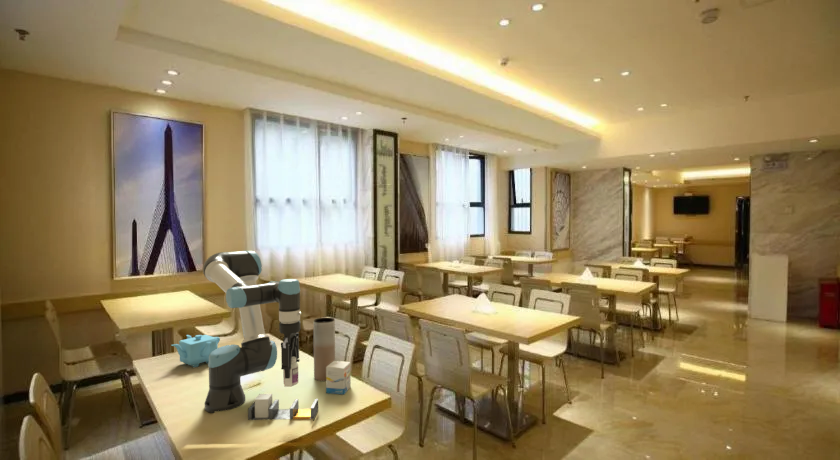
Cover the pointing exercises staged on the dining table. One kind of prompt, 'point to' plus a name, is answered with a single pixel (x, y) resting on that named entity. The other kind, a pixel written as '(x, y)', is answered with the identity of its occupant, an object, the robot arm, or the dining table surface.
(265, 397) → the filler block
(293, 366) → the pill bottle
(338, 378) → the ink box
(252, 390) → the dining table surface
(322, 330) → the vase
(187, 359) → the teakettle
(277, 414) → the rack
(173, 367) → the dining table surface
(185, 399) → the dining table surface
